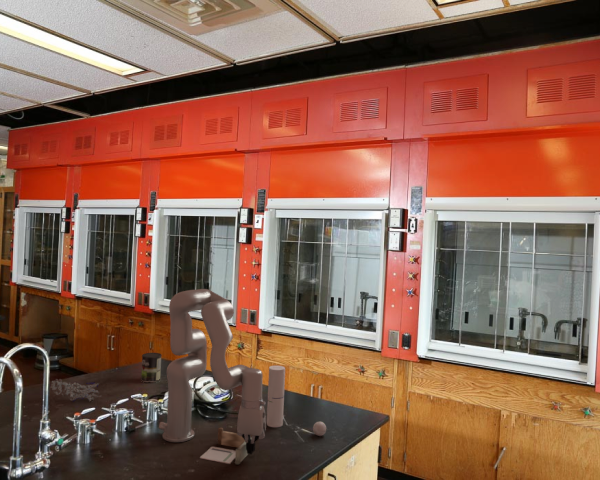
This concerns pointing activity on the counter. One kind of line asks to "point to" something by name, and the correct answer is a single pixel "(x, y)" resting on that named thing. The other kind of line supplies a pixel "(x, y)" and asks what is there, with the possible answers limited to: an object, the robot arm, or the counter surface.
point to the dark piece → (75, 390)
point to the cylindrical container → (275, 396)
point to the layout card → (219, 455)
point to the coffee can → (151, 366)
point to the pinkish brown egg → (319, 428)
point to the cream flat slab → (241, 453)
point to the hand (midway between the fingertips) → (250, 452)
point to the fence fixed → (229, 438)
